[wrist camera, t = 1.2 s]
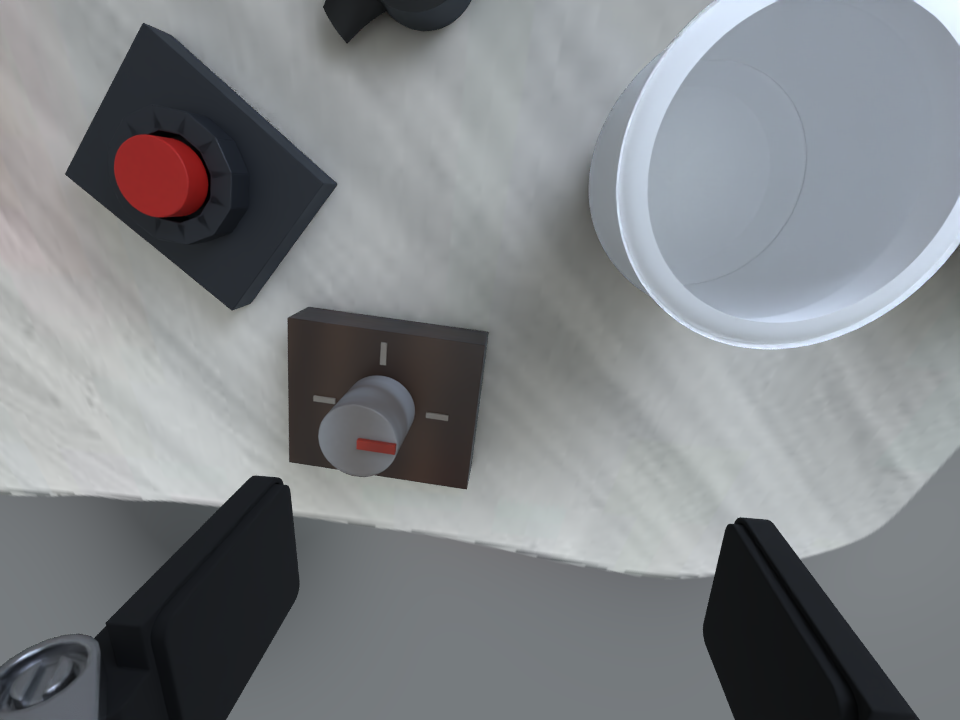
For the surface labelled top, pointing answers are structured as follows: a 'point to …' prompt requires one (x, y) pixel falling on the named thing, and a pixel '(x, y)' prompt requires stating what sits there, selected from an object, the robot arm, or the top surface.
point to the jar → (786, 166)
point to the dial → (367, 426)
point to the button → (160, 176)
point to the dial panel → (403, 357)
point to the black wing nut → (392, 13)
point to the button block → (226, 157)
